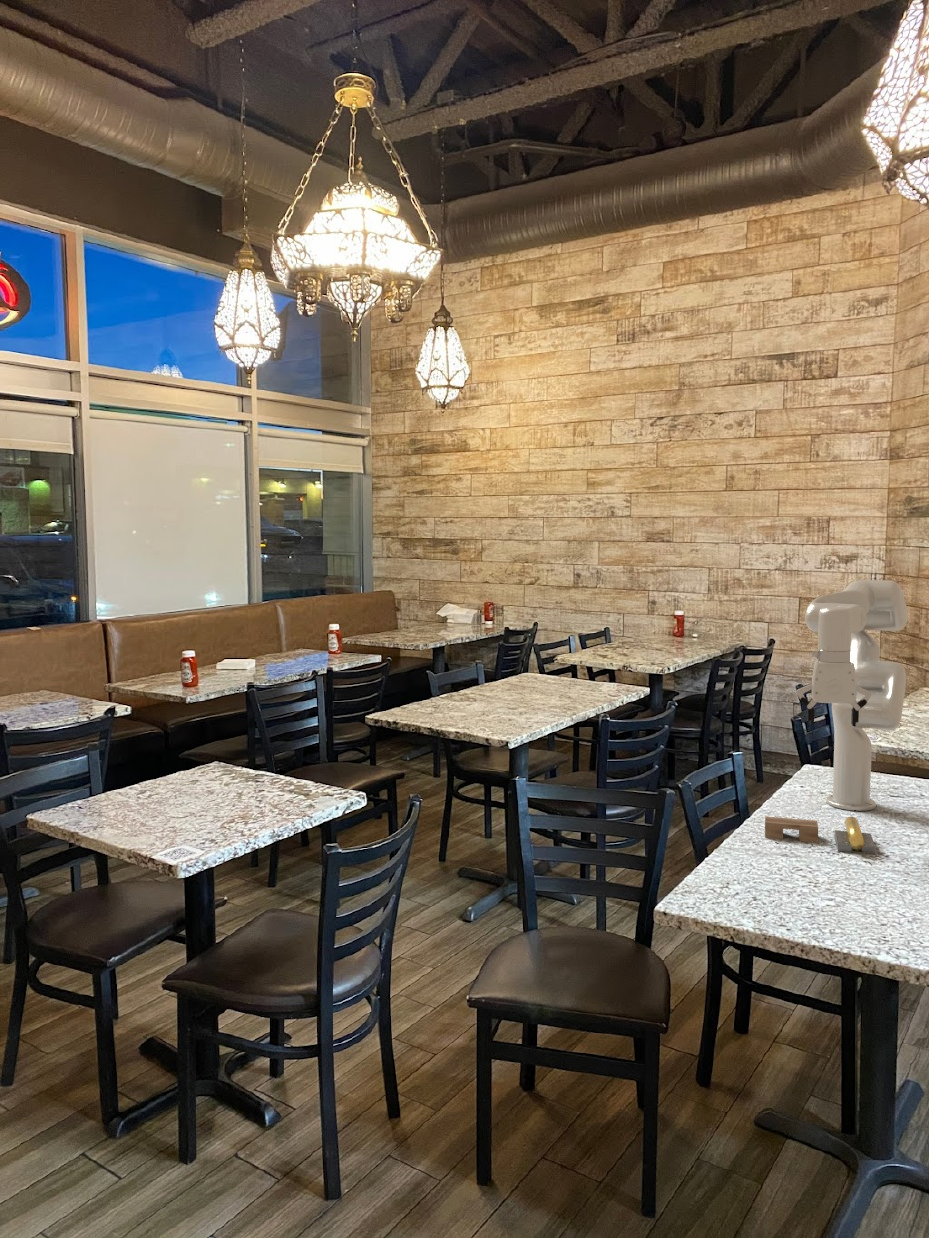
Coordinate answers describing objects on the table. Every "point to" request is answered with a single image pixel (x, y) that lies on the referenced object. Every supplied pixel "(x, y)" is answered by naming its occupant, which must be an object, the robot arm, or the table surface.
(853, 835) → the brass rod
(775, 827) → the walnut beam
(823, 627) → the robot arm
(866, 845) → the iron V-block
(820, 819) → the table surface
